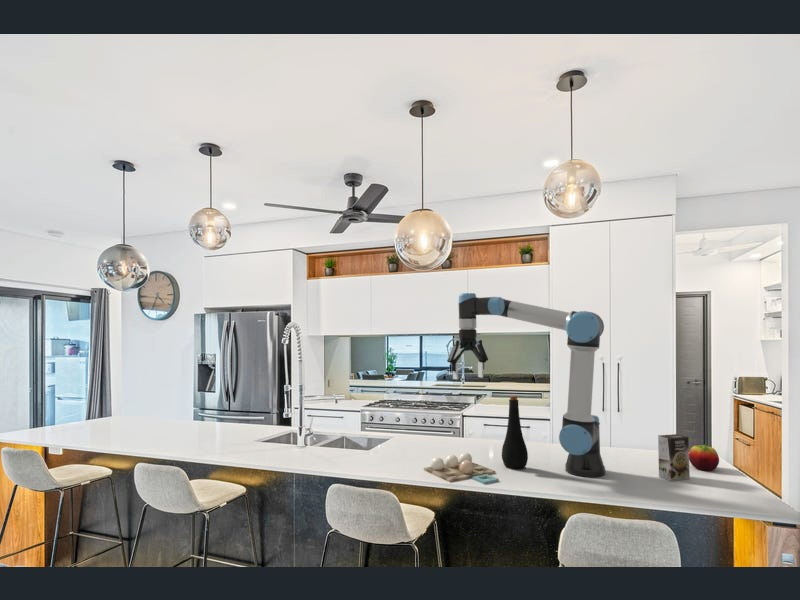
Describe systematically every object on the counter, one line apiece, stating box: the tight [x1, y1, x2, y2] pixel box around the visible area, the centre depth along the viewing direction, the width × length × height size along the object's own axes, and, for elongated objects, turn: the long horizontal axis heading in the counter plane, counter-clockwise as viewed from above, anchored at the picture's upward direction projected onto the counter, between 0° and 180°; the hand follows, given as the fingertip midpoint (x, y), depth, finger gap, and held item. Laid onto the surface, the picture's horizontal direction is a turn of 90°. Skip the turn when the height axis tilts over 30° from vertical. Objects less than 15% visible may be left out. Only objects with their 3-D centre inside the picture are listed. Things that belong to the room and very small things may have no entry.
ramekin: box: [471, 474, 500, 485], centre depth 187 cm, size 7×7×2 cm
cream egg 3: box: [458, 452, 473, 464], centre depth 206 cm, size 6×6×6 cm
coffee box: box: [657, 433, 691, 482], centre depth 192 cm, size 9×6×16 cm
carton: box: [423, 461, 496, 483], centre depth 198 cm, size 22×18×2 cm
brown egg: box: [460, 460, 474, 475], centre depth 194 cm, size 6×6×6 cm
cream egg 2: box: [444, 454, 459, 468], centre depth 202 cm, size 6×6×6 cm
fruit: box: [689, 444, 720, 472], centre depth 204 cm, size 11×11×10 cm
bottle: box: [501, 395, 529, 470], centre depth 205 cm, size 11×11×30 cm
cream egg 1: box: [430, 456, 445, 471], centre depth 199 cm, size 6×6×6 cm
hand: (468, 378), depth 213 cm, fingers open, 13 cm apart
